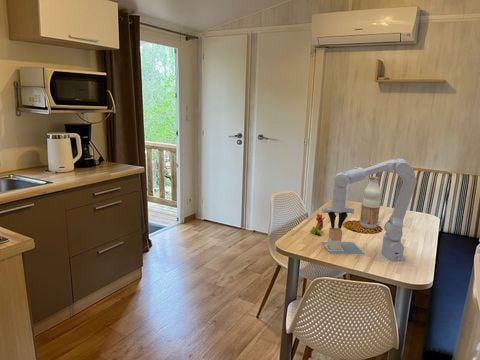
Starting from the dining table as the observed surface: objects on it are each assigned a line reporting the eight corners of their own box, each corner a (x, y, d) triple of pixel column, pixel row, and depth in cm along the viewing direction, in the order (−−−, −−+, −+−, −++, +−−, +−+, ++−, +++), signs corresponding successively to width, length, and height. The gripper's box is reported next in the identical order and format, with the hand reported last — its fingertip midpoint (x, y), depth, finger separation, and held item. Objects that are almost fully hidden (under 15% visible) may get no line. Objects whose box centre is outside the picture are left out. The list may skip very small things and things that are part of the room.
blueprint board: (364, 255, 162) (365, 254, 161) (330, 255, 160) (330, 253, 160) (352, 243, 175) (353, 241, 175) (320, 243, 174) (321, 241, 174)
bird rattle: (312, 235, 189) (308, 233, 181) (316, 214, 191) (312, 212, 183) (324, 237, 187) (320, 236, 179) (328, 216, 188) (325, 214, 180)
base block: (340, 249, 165) (341, 240, 164) (330, 249, 165) (331, 240, 164) (336, 245, 170) (337, 236, 169) (327, 245, 169) (328, 236, 168)
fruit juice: (358, 227, 199) (364, 177, 193) (360, 222, 207) (366, 174, 201) (376, 230, 195) (383, 179, 189) (377, 224, 204) (383, 176, 198)
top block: (341, 240, 164) (342, 231, 163) (331, 240, 164) (332, 231, 163) (337, 236, 169) (338, 227, 168) (328, 236, 168) (329, 227, 167)
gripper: (351, 197, 167) (348, 225, 170) (320, 196, 165) (318, 224, 168) (357, 201, 160) (353, 230, 163) (325, 200, 158) (322, 230, 161)
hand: (336, 227), depth 165 cm, fingers open, 3 cm apart
